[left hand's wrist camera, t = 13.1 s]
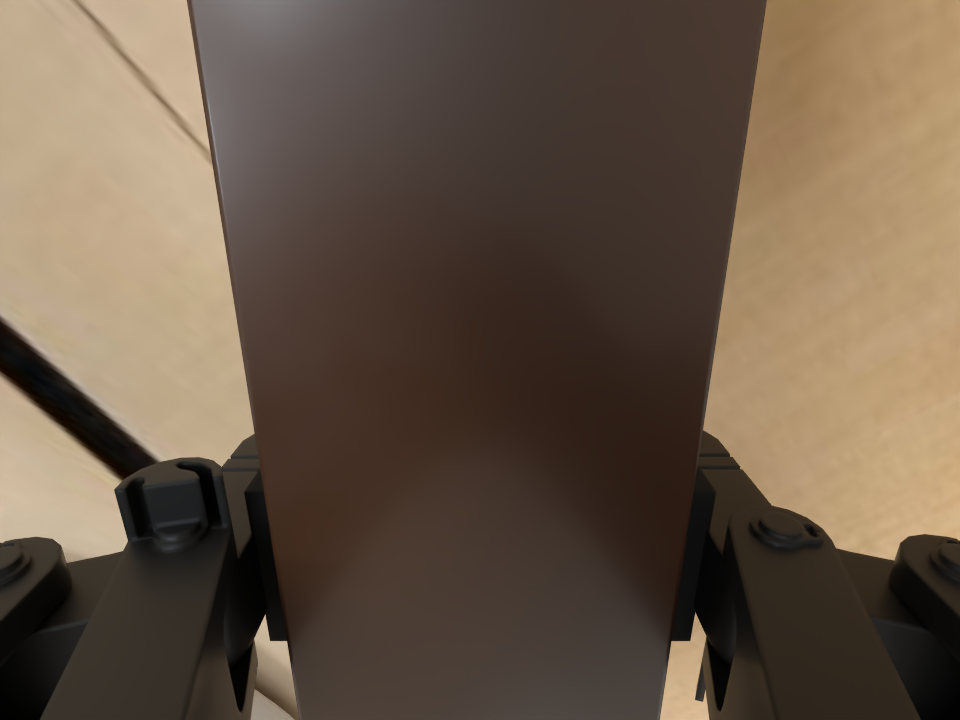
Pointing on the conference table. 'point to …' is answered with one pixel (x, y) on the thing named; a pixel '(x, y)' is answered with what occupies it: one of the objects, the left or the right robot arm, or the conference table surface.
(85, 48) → the conference table surface
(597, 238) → the beam
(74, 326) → the conference table surface
